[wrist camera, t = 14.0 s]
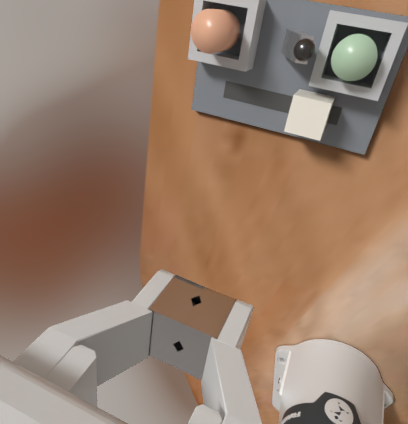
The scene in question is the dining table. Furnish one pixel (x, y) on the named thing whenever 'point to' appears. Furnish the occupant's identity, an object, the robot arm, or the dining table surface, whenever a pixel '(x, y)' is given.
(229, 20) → the terracotta button
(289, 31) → the ball-tipped lever
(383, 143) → the dining table surface
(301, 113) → the slider knob
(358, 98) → the panel
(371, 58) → the green button
